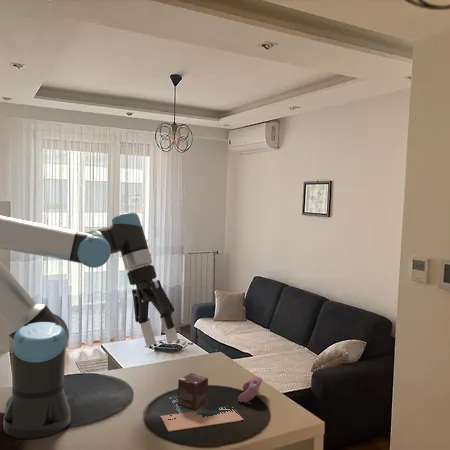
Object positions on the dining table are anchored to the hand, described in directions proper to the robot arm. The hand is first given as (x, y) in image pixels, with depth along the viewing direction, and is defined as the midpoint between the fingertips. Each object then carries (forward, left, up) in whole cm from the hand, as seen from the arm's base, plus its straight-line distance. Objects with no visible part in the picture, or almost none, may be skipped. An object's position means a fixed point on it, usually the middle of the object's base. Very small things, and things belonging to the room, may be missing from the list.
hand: (161, 343), depth 126 cm
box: (+9, 0, -17) cm, 19 cm away
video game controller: (+26, +7, -17) cm, 32 cm away
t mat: (+10, -2, -17) cm, 20 cm away
